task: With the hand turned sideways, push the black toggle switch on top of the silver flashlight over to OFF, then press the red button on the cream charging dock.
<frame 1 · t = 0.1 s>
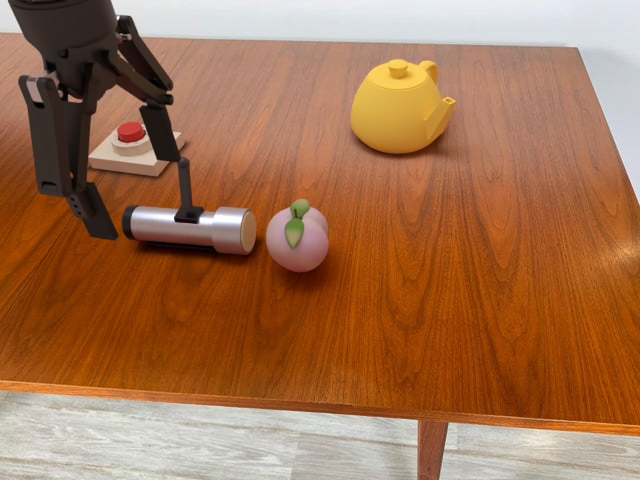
hand: (139, 195, 62), 18 cm above the table, tool pointing down, fingers open, 13 cm apart
decorative fruit: (302, 266, 80), on the table
flashlight switch: (185, 182, 78), point 10 cm above the table, hinge at -25.0°
teapot: (409, 134, 103), on the table
dock button: (131, 132, 96), point 4 cm above the table, slide at 0.1 cm
flashlight: (185, 243, 84), on the table
dock: (139, 155, 100), on the table
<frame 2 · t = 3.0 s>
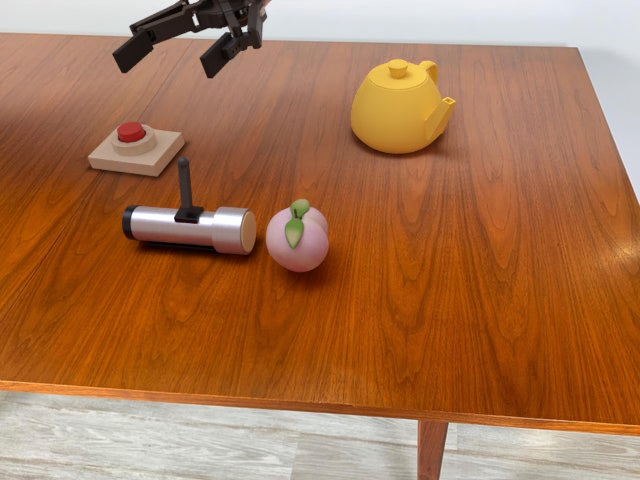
hand: (160, 66, 73), 22 cm above the table, tool horizontal, fingers open, 13 cm apart
nothing on the table moved.
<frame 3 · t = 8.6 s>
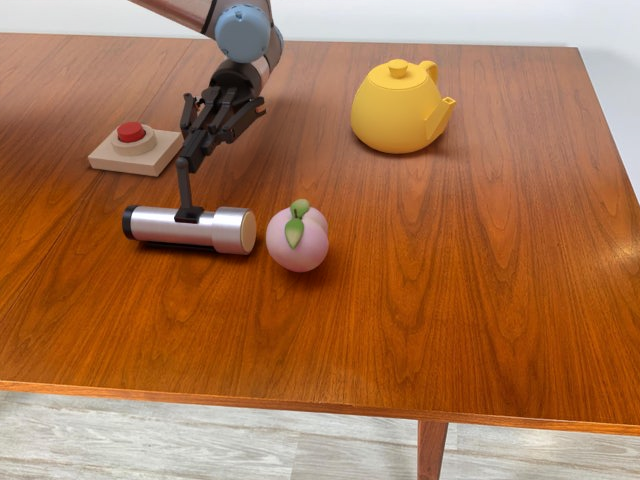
hand: (187, 164, 78), 11 cm above the table, tool horizontal, fingers closed
flashlight switch: (184, 182, 77), point 10 cm above the table, hinge at -21.1°, touching gripper
everything else where it was.
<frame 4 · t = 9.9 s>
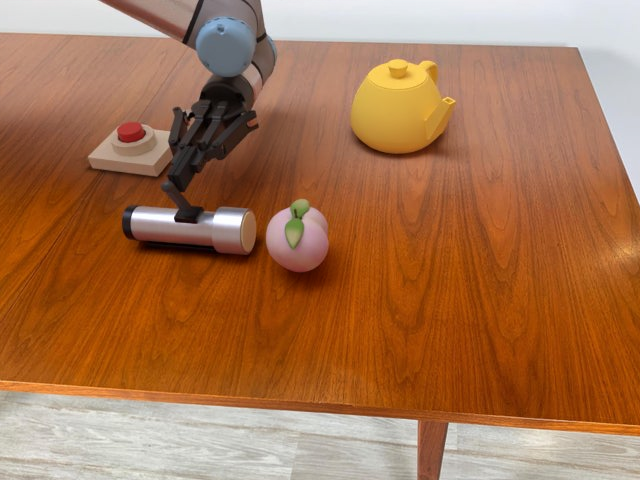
hand: (175, 183, 75), 11 cm above the table, tool horizontal, fingers closed
flashlight switch: (176, 196, 75), point 10 cm above the table, hinge at 24.5°, touching gripper
everything else where it was.
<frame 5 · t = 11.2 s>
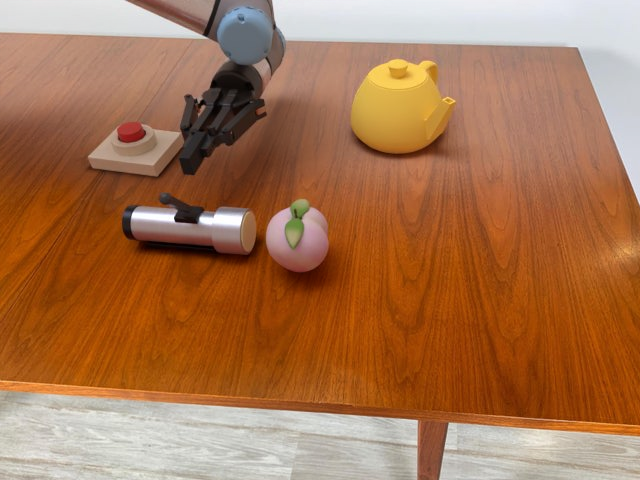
hand: (186, 166, 78), 11 cm above the table, tool horizontal, fingers closed
flashlight switch: (174, 203, 75), point 9 cm above the table, hinge at 38.8°
everything else where it was.
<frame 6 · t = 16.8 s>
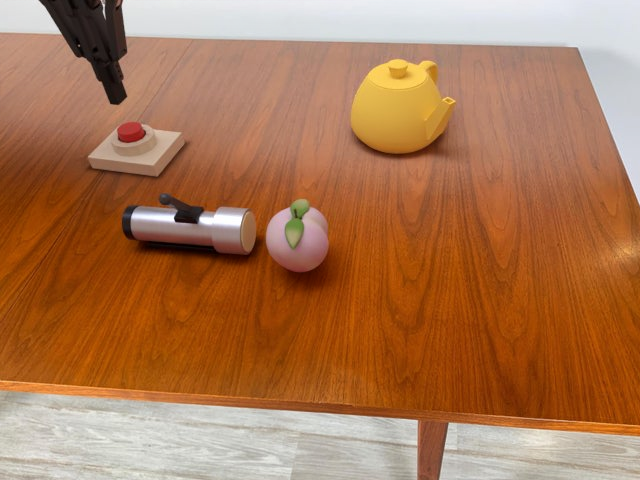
hand: (118, 100, 92), 10 cm above the table, tool pointing down, fingers closed
flashlight switch: (174, 203, 75), point 9 cm above the table, hinge at 39.3°
everything else where it was.
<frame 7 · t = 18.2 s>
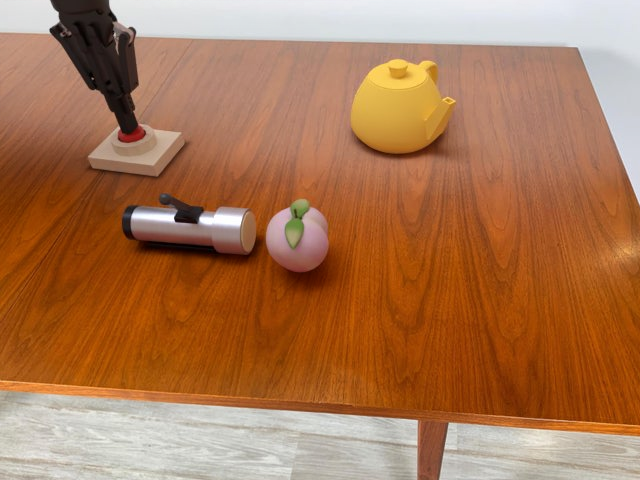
hand: (130, 129, 96), 5 cm above the table, tool pointing down, fingers closed
dock button: (132, 135, 97), point 4 cm above the table, slide at -0.4 cm, touching gripper
everything else where it was.
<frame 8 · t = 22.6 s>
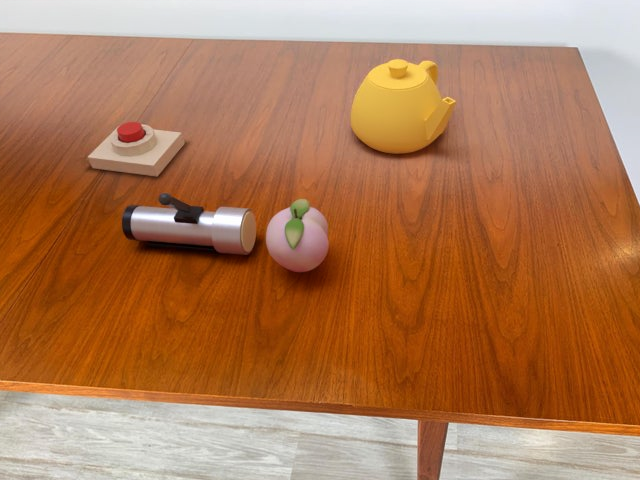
dock button: (131, 132, 96), point 4 cm above the table, slide at 0.1 cm
everything else where it was.
at the end: flashlight switch at +39° (first picture: -25°); dock button pushed in 1.0 cm at the most during the clip, back to where it started at the end; dock button slide at 0.1 cm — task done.
